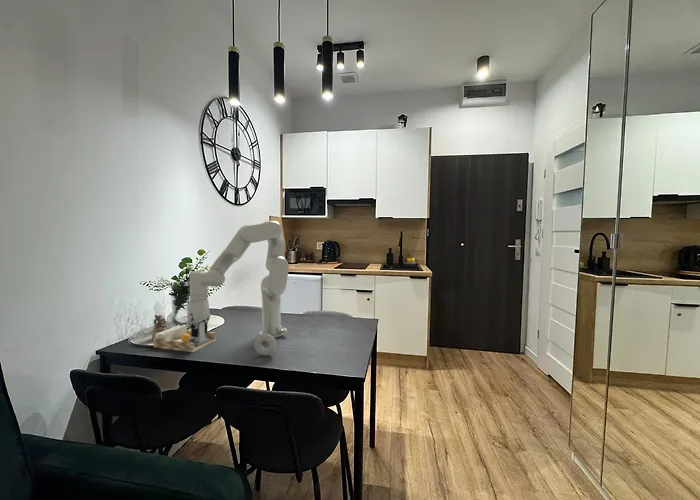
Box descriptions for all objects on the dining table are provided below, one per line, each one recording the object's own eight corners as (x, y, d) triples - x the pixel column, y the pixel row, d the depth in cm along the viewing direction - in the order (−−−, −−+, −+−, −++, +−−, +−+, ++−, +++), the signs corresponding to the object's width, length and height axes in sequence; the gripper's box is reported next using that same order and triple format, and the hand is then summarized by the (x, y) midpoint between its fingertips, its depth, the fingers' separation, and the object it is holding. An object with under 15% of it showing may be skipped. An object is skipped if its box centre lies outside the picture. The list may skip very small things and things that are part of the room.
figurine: (161, 341, 159) (160, 317, 158) (148, 339, 161) (148, 316, 160) (171, 336, 166) (171, 313, 165) (159, 335, 168) (159, 312, 167)
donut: (253, 356, 142) (252, 334, 141) (255, 353, 145) (255, 332, 144) (275, 357, 141) (275, 335, 140) (277, 354, 145) (277, 332, 144)
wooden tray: (216, 340, 161) (215, 332, 161) (193, 352, 146) (192, 343, 145) (179, 336, 166) (179, 328, 166) (153, 347, 151) (153, 338, 151)
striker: (209, 340, 157) (209, 320, 156) (198, 346, 149) (197, 325, 149) (200, 339, 158) (200, 319, 158) (188, 345, 151) (188, 324, 150)
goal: (187, 336, 164) (187, 324, 164) (165, 345, 150) (165, 333, 150) (178, 334, 165) (178, 323, 165) (156, 344, 152) (155, 332, 151)
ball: (192, 340, 157) (192, 332, 157) (186, 343, 153) (185, 335, 153) (185, 339, 158) (185, 331, 158) (179, 342, 154) (178, 334, 154)
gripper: (204, 293, 162) (205, 328, 163) (178, 300, 145) (179, 339, 146) (217, 294, 160) (218, 329, 161) (192, 301, 143) (193, 341, 144)
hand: (199, 334), depth 154 cm, fingers open, 5 cm apart
